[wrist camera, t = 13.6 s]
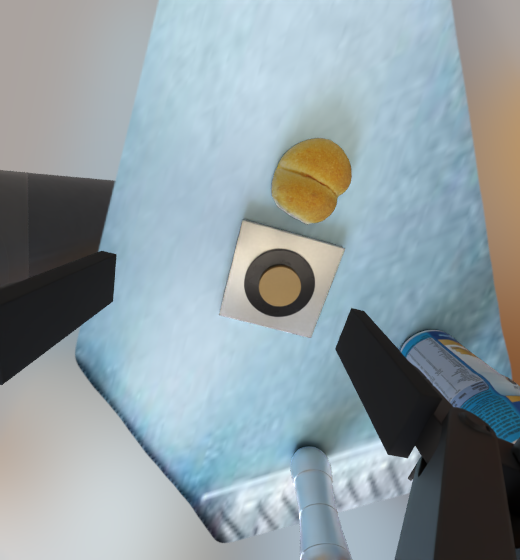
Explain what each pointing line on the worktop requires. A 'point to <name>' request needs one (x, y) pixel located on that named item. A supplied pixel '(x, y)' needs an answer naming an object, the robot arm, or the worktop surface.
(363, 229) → the worktop surface
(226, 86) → the worktop surface
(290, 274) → the push button
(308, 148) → the bread roll
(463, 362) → the beverage bottle
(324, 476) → the plastic bottle
